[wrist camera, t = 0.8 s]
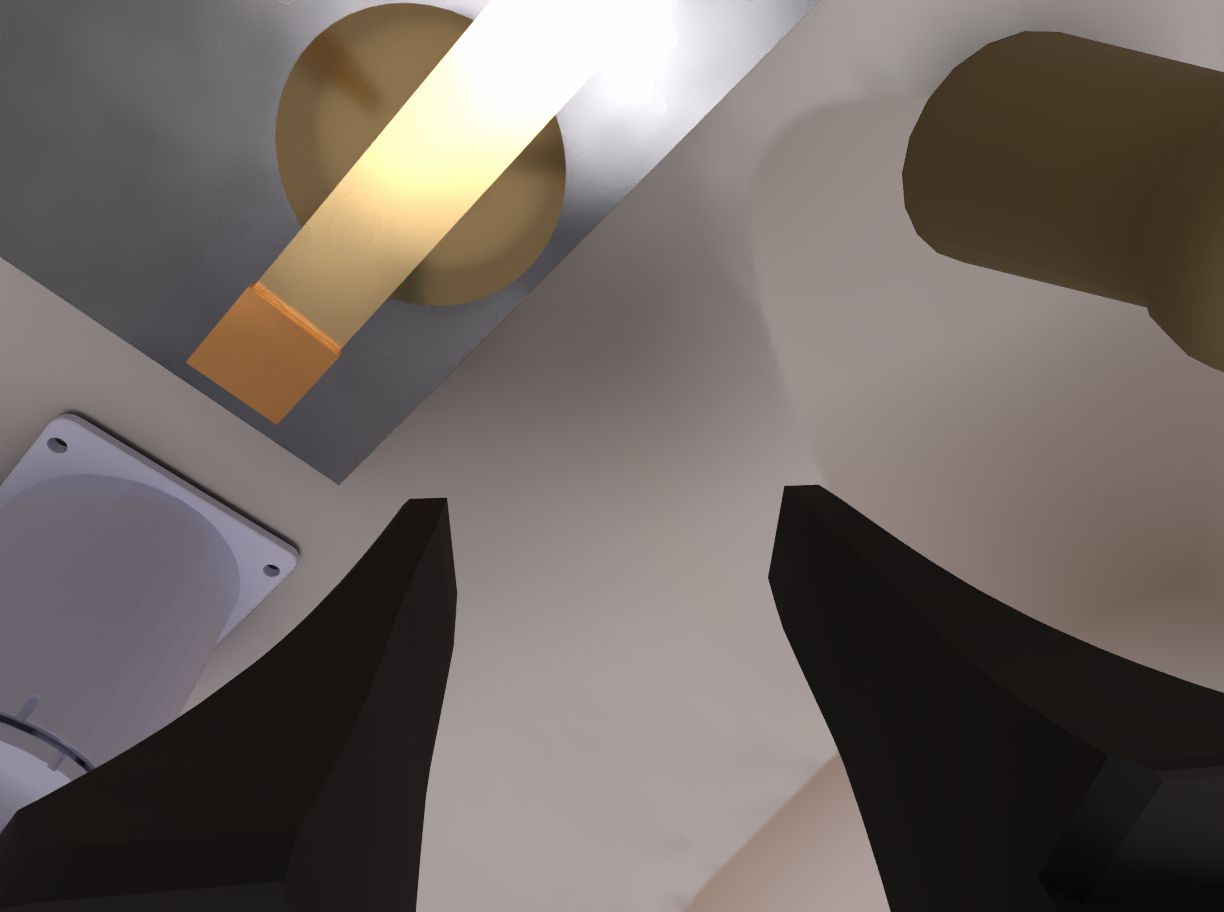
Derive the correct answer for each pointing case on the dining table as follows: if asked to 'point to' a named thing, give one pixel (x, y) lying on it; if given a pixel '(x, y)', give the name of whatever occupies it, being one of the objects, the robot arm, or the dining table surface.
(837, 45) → the dining table surface
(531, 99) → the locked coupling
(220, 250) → the plate
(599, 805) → the dining table surface
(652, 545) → the dining table surface
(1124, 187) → the cork
